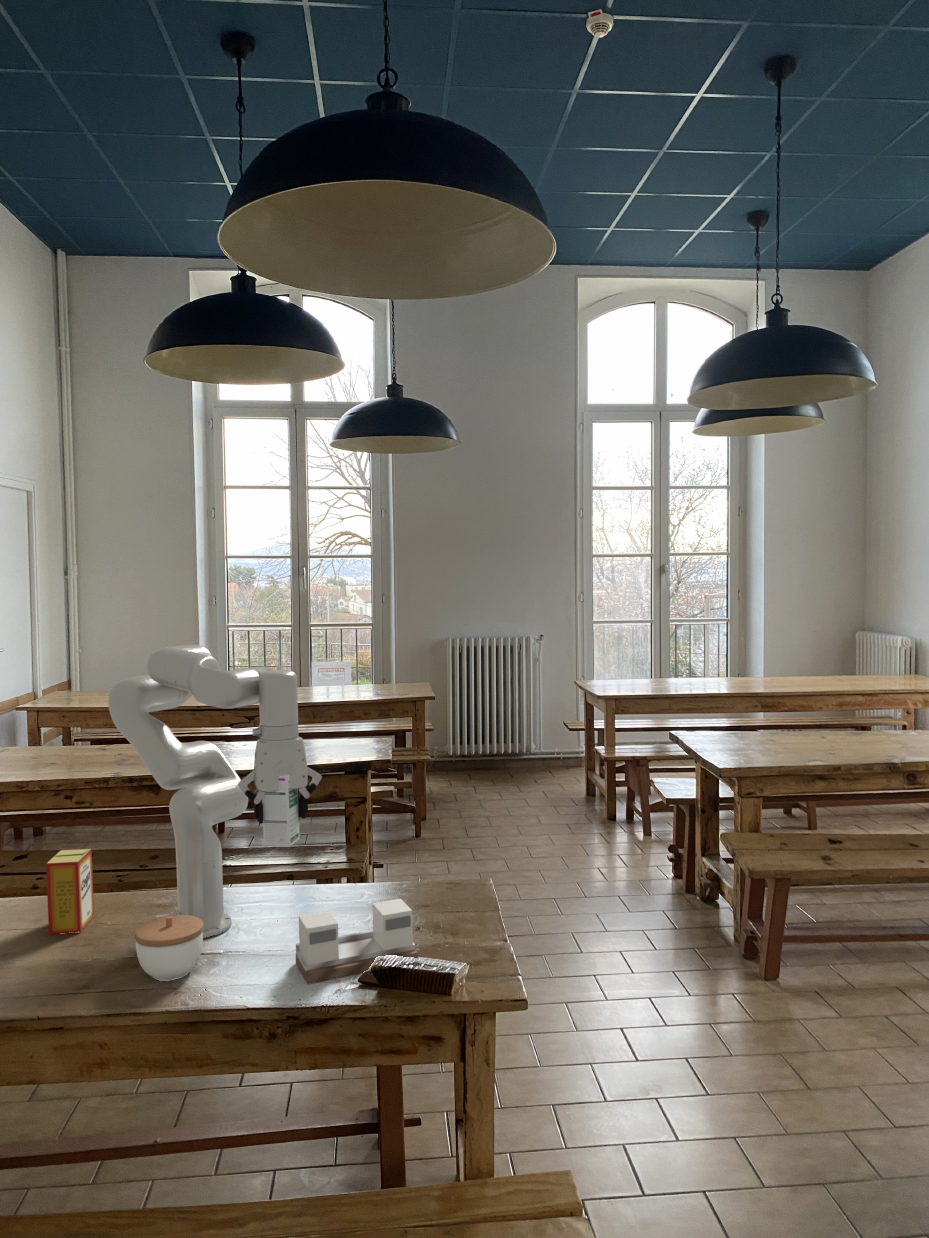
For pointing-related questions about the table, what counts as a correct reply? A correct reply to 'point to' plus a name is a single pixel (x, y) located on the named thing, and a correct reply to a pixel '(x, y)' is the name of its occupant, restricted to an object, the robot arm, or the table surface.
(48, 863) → the baking soda box
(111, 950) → the table surface
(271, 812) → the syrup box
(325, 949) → the mounted modules
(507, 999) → the table surface
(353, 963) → the rail board
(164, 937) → the lidded bowl
